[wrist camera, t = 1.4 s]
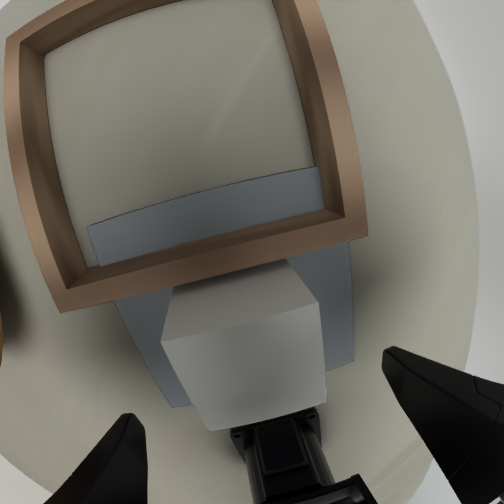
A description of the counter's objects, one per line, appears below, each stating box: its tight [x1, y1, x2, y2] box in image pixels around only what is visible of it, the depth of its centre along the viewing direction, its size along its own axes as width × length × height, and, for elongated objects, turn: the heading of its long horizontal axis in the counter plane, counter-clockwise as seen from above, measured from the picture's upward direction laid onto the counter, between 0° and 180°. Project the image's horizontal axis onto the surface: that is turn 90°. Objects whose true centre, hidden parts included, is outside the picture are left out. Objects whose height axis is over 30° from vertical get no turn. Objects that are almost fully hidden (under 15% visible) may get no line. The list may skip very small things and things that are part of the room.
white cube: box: [160, 258, 327, 431], centre depth 11 cm, size 5×5×5 cm
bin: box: [4, 0, 368, 313], centre depth 10 cm, size 14×14×2 cm
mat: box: [87, 166, 354, 408], centre depth 14 cm, size 12×12×1 cm
